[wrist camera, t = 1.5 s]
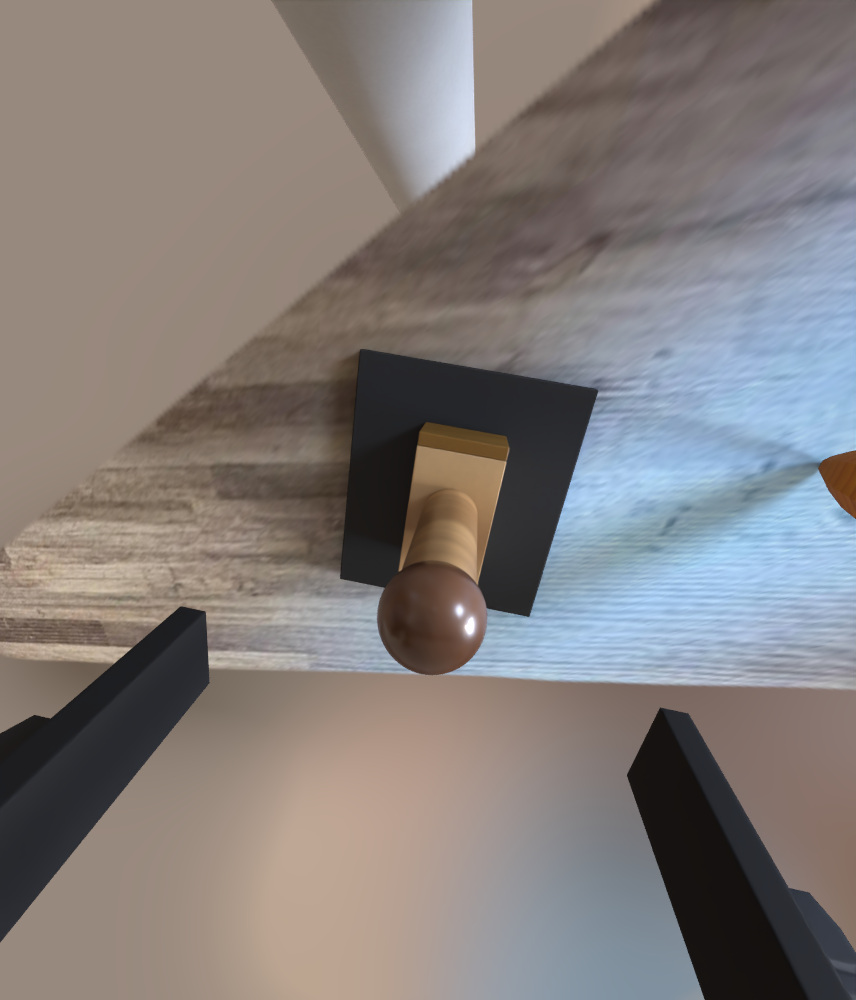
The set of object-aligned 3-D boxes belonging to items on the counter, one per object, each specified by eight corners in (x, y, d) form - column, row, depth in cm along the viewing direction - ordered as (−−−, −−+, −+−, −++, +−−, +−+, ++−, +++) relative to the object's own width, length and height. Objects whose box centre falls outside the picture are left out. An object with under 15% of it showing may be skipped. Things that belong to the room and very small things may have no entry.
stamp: (425, 421, 25) (362, 512, 11) (506, 435, 25) (539, 546, 11) (406, 549, 28) (339, 735, 15) (477, 563, 28) (474, 765, 14)
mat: (363, 348, 25) (359, 349, 24) (595, 388, 24) (598, 390, 23) (343, 573, 30) (339, 578, 30) (528, 610, 30) (529, 617, 29)
